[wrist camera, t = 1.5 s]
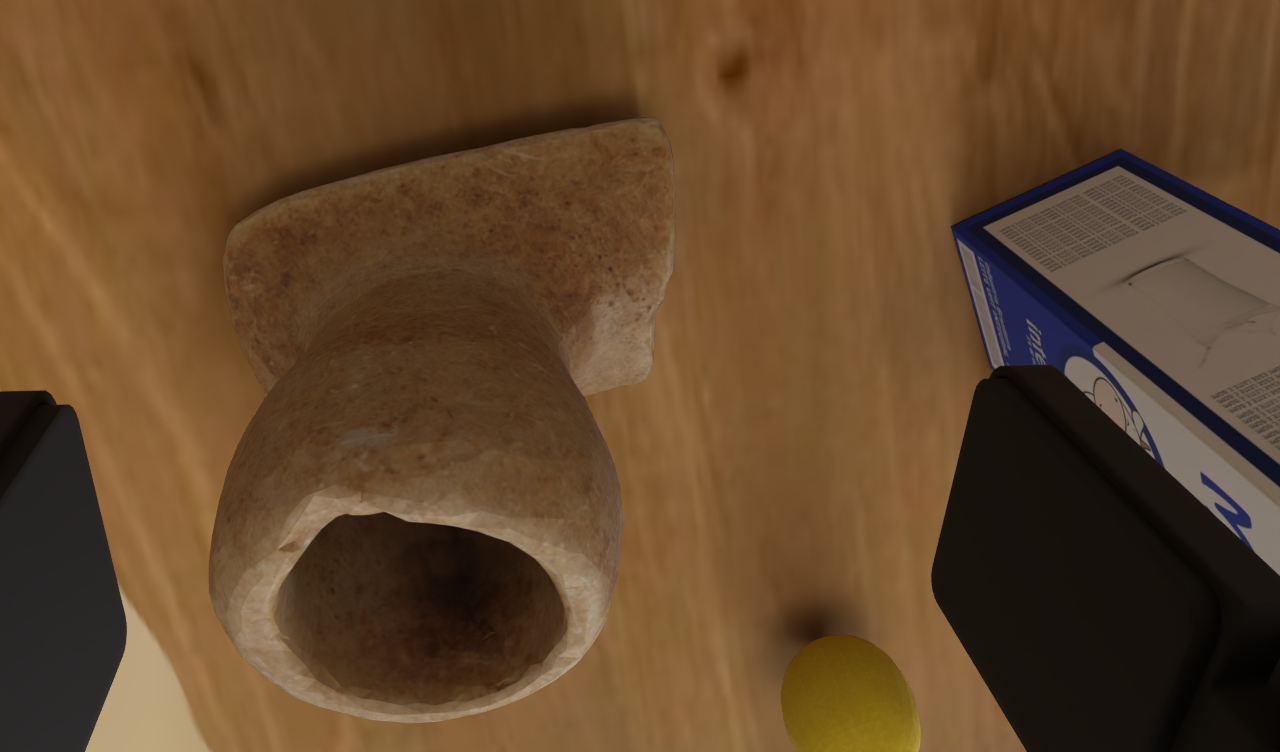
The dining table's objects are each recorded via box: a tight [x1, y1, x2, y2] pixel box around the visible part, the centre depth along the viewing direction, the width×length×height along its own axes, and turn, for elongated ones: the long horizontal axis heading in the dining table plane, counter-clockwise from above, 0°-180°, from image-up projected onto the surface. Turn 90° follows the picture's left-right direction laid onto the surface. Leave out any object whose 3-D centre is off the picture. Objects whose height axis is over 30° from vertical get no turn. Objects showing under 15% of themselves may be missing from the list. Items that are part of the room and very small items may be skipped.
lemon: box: [781, 635, 921, 752], centre depth 44 cm, size 6×6×8 cm
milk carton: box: [952, 149, 1280, 575], centre depth 31 cm, size 7×7×20 cm
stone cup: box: [209, 117, 676, 723], centre depth 30 cm, size 15×12×15 cm
